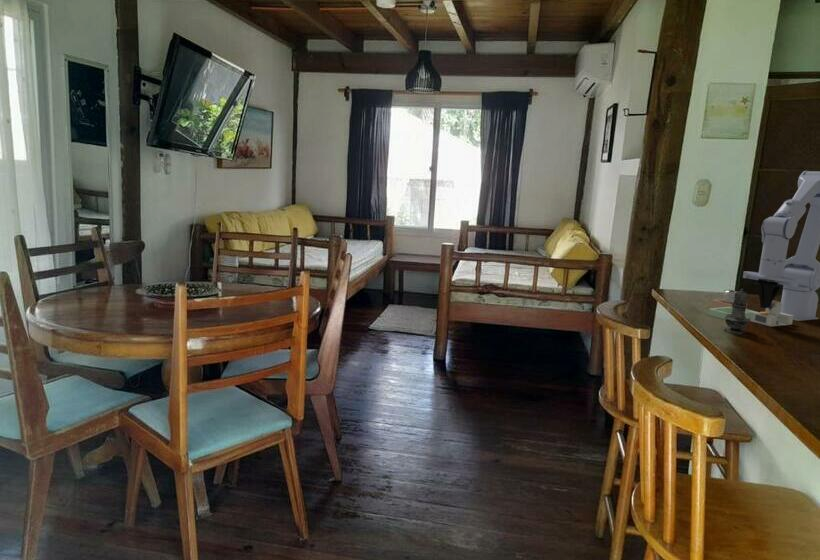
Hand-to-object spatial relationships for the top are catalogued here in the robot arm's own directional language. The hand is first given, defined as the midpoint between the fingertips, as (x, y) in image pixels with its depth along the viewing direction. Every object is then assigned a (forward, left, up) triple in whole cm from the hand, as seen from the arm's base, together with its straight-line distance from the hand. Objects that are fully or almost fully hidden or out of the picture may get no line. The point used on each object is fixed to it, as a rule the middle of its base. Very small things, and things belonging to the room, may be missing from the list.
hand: (765, 307), depth 149 cm
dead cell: (-6, -15, -5) cm, 17 cm away
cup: (-6, -15, -5) cm, 17 cm away
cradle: (-4, 0, -5) cm, 6 cm away
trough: (+1, -9, -5) cm, 10 cm away
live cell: (-4, 0, -5) cm, 6 cm away
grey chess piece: (+15, +3, -5) cm, 17 cm away
